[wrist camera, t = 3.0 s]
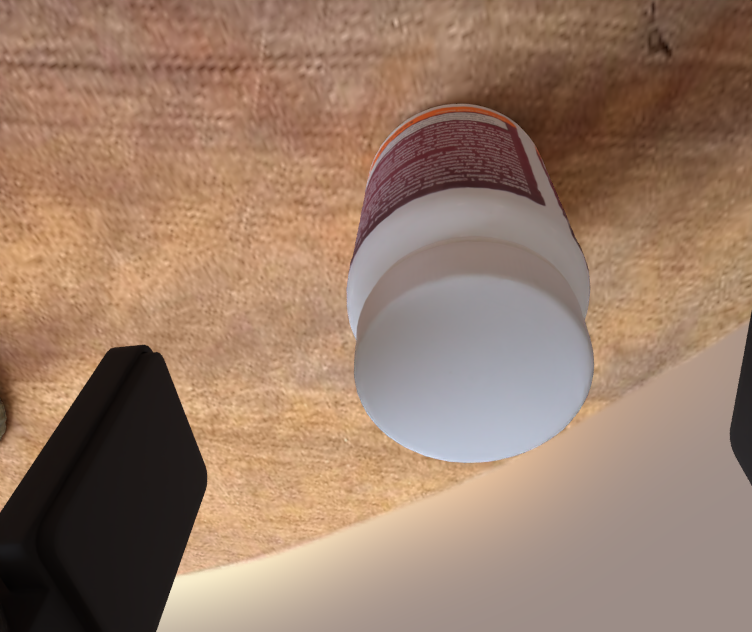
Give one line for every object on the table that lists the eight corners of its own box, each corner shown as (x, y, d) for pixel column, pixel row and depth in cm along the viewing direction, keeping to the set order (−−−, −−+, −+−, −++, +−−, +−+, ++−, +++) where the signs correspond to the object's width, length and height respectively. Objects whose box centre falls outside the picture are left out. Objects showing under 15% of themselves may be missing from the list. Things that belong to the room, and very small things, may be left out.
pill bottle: (332, 195, 19) (273, 385, 11) (452, 59, 16) (468, 189, 9) (457, 295, 20) (472, 518, 13) (582, 181, 18) (681, 374, 11)
